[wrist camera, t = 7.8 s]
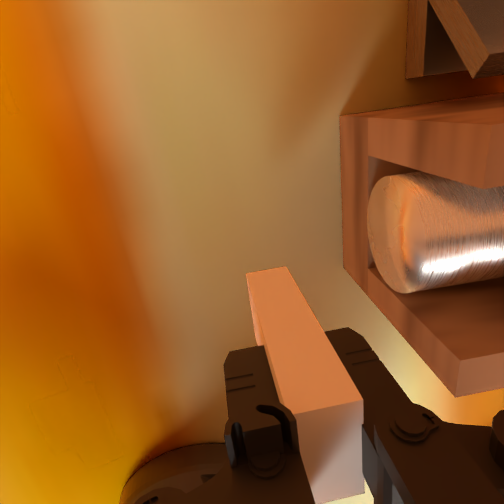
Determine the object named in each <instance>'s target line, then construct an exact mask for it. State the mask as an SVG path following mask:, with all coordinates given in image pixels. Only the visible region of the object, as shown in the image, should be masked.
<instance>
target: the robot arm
mask: <svg viewBox="0 0 504 504" xmlns="http://www.w3.org/2000/svg"><path fill="white" fill-rule="evenodd" d="M246 278H247V285H248V292H249V298H250V305H251V312H252V318H253V325H254V331H255V337H256V341H257V345H258V346H256V347H251V348H246V349H240V350H235V351H230V352H229V354H228V356H227V359H226V361H225V363H224V374H225V385H226V393H227V394H226V395H227V406H228V416H229V420H228V421H227V423H226V426H225V433H224V438H225V443H226V444H200V445H193V446H188V447H184V448H180V449H176V450H173V451H170V452H168V453H165V454H163V455H161V456H159V457H157V458H155V459H153V460H152V461H150V462H148V463H147V464H145V465H144V466H143V467H142V468H140V469H139V470H138V471H137V472H136V473H135V474H134V475H133V476H132V477H131V478H130V480H129V481H128V482H127V484H126V485H125V487H124V489H123V492H122V494H121V498H120V502H119V504H321V503H326V502H330V501H334V500H338V499H342V498H347V497H351V496H355V495H359V494H364V493H365V491H364V478H365V480H366V482H367V484H368V486H369V489H370V491H371V493H372V495H373V497H374V504H504V410H501V411H499V412H498V413H497V414H496V415H495V416H494V417H493V422H492V427H490V426H476V425H462V424H454V423H448V422H444V421H442V420H441V419H440V418H439V417H438V416H436V415H435V414H434V413H433V412H432V411H430V410H428V409H426V408H425V407H423V406H421V405H418V404H414V403H412V402H411V401H410V399H409V398H408V397H407V395H406V394H405V392H404V391H403V390H402V388H401V387H400V386H399V384H398V383H397V382H396V380H395V379H394V378H393V376H392V375H391V374H390V372H389V371H388V370H387V368H386V367H385V366H384V364H383V363H382V362H381V361H380V360H379V358H378V356H377V355H376V354H375V352H374V351H372V348H371V347H370V345H369V344H368V343H367V341H366V340H365V339H364V337H363V336H362V335H360V334H358V333H357V332H355V331H353V330H352V329H350V328H349V327H347V328H342V329H337V330H332V331H326V332H324V331H323V329H322V327H321V326H320V324H319V322H318V321H317V319H316V317H315V315H314V314H313V312H312V310H311V308H310V307H309V305H308V303H307V302H306V300H305V298H304V296H303V295H302V293H301V291H300V289H299V288H298V286H297V284H296V283H295V281H294V279H293V277H292V276H291V274H290V272H289V271H288V269H287V267H286V266H284V267H278V268H273V269H267V270H261V271H256V272H250V273H246Z"/></svg>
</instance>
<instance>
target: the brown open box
mask: <svg viewBox="0 0 504 504" xmlns="http://www.w3.org/2000/svg"><path fill="white" fill-rule="evenodd" d="M339 119H340V156H341V192H342V229H343V265H344V269H345V270H346V271H347V272H348V273H349V275H350V276H351V277H352V278H353V279H354V280H355V282H356V283H357V284H358V285H359V286H360V287H361V288H362V290H363V291H364V292H365V293H366V294H367V295H368V297H369V298H370V299H371V300H372V301H373V302H374V304H375V305H376V306H377V307H378V308H379V309H380V311H381V312H382V313H383V314H384V315H385V316H386V318H387V319H388V320H389V321H390V322H391V323H392V325H393V326H394V327H395V328H396V329H397V330H398V331H399V333H400V334H401V335H402V336H403V337H404V338H405V340H406V341H407V342H408V343H409V344H410V345H411V347H412V348H413V349H414V350H415V351H416V352H417V354H418V355H419V356H420V357H421V358H422V359H423V361H424V362H425V363H426V364H427V365H428V366H429V368H430V369H431V370H432V371H433V372H434V373H435V374H436V376H437V377H438V378H439V379H440V380H441V381H442V383H443V384H444V385H445V386H446V387H447V388H448V390H449V391H450V392H451V393H452V394H453V395H454V397H460V396H465V395H470V394H475V393H480V392H485V391H490V390H495V389H500V388H504V277H501V278H495V279H489V280H483V281H477V282H471V283H465V284H459V285H453V286H447V287H441V288H435V289H429V290H423V291H417V292H411V293H399V292H396V291H395V290H393V289H392V288H391V287H390V286H389V285H388V284H387V283H386V282H385V281H384V279H383V278H382V276H381V274H380V273H379V271H378V269H377V266H376V264H375V261H374V259H373V256H372V252H371V248H370V244H369V238H368V230H367V211H368V203H369V198H370V195H371V192H372V190H373V188H374V186H375V184H376V183H377V182H378V181H379V180H380V179H381V178H383V177H385V176H391V175H398V174H405V173H412V172H419V171H423V172H426V173H430V174H433V175H436V176H440V177H443V178H447V179H450V180H453V181H457V182H460V183H464V184H467V185H470V186H474V187H477V188H481V189H487V188H494V187H500V186H504V93H496V94H489V95H482V96H475V97H468V98H461V99H454V100H447V101H440V102H433V103H426V104H419V105H412V106H405V107H398V108H391V109H384V110H377V111H370V112H363V113H356V114H349V115H343V116H339Z"/></svg>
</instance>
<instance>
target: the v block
mask: <svg viewBox="0 0 504 504" xmlns="http://www.w3.org/2000/svg"><path fill="white" fill-rule="evenodd" d="M464 70H468V71H469V73H470V75H471V77H472V78H473V79H475V78H482V77H489V76H496V75H503V74H504V0H409V4H408V29H407V53H406V78H405V79H407V78H414V77H421V76H428V75H436V74H443V73H450V72H457V71H464Z"/></svg>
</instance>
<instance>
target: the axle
mask: <svg viewBox="0 0 504 504" xmlns="http://www.w3.org/2000/svg"><path fill="white" fill-rule="evenodd" d="M367 230H368V238H369V244H370V248H371V252H372V256H373V259H374V261H375V264H376V266H377V269H378V271H379V273H380V274H381V276H382V278H383V279H384V281H385V282H386V283H387V284H388V285H389V286H390V287H391V288H392V289H393V290H395V291H396V292H399V293H411V292H417V291H423V290H429V289H435V288H441V287H447V286H453V285H459V284H465V283H471V282H477V281H483V280H489V279H495V278H501V277H504V186H500V187H494V188H487V189H481V188H477V187H474V186H470V185H467V184H464V183H460V182H457V181H453V180H450V179H447V178H443V177H440V176H436V175H433V174H430V173H426V172H423V171H419V172H412V173H405V174H398V175H391V176H385V177H383V178H381V179H380V180H379V181H378V182H377V183H376V184H375V186H374V188H373V190H372V192H371V195H370V198H369V203H368V211H367Z"/></svg>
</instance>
